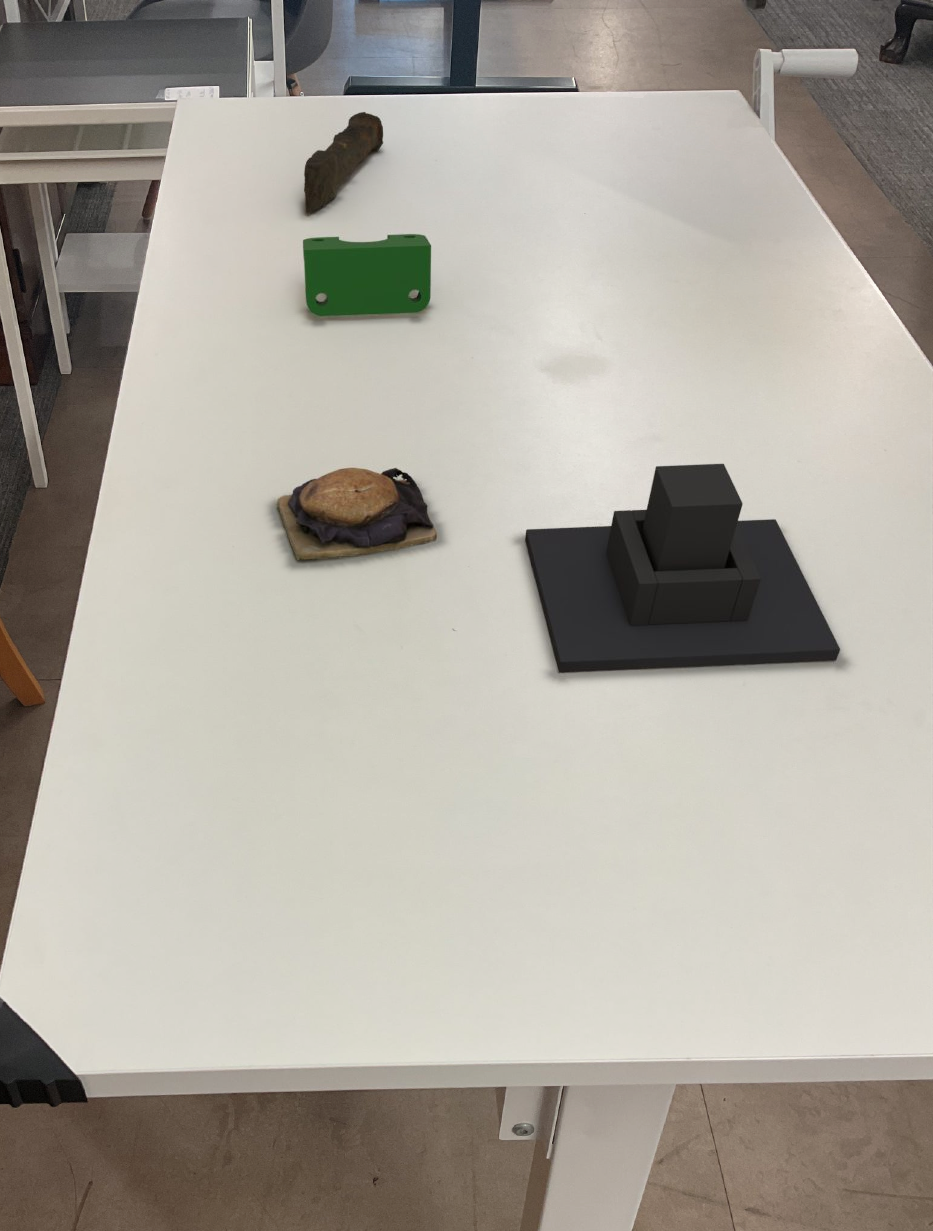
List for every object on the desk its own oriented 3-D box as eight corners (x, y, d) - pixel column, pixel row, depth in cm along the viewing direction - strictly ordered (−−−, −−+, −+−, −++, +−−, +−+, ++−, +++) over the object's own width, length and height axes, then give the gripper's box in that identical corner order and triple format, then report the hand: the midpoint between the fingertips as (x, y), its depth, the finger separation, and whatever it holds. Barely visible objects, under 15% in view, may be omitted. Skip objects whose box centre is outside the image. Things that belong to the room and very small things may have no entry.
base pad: (772, 530, 86) (789, 476, 82) (836, 660, 76) (858, 606, 73) (524, 540, 85) (531, 486, 82) (558, 673, 76) (567, 619, 72)
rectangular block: (697, 564, 81) (724, 463, 75) (714, 605, 78) (743, 503, 73) (634, 566, 81) (655, 465, 75) (648, 608, 78) (672, 506, 72)
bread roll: (296, 569, 83) (294, 526, 80) (274, 500, 89) (271, 457, 86) (442, 546, 85) (445, 503, 82) (411, 479, 90) (413, 437, 87)
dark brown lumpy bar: (351, 146, 134) (350, 101, 131) (384, 151, 133) (384, 106, 130) (282, 213, 123) (280, 166, 119) (318, 219, 121) (316, 172, 118)
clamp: (402, 336, 114) (441, 240, 109) (408, 352, 109) (449, 253, 104) (284, 288, 111) (319, 188, 106) (285, 302, 106) (322, 198, 101)
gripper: (776, -303, 69) (731, 21, 80) (1016, -321, 70) (939, 5, 81) (736, -302, 75) (699, 1, 86) (958, -318, 75) (893, -14, 86)
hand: (815, 3), depth 83 cm, fingers open, 8 cm apart
